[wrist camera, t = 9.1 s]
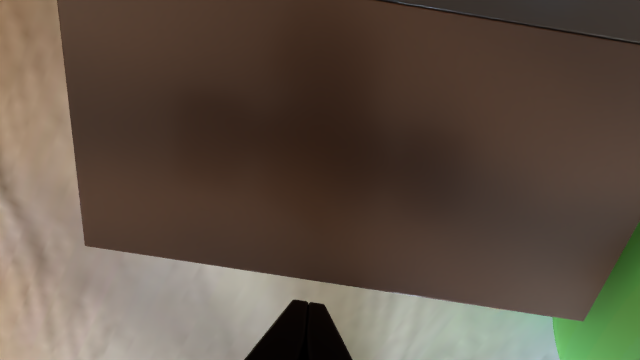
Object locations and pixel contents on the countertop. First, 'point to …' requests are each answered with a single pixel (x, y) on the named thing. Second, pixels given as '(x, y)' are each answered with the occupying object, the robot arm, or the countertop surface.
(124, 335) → the countertop surface
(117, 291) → the countertop surface
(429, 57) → the cupboard
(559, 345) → the toy bird
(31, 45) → the countertop surface
